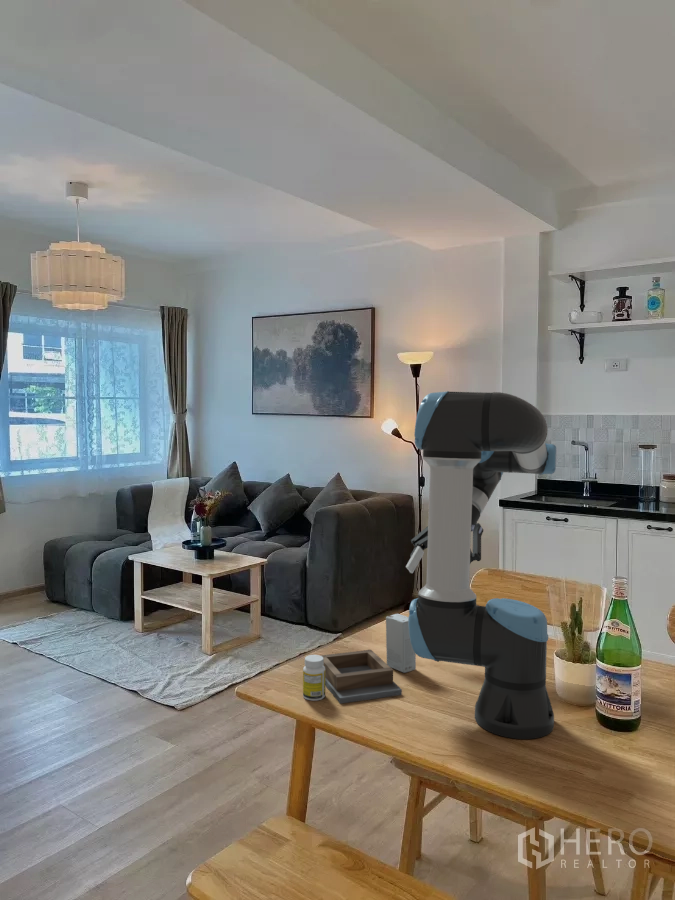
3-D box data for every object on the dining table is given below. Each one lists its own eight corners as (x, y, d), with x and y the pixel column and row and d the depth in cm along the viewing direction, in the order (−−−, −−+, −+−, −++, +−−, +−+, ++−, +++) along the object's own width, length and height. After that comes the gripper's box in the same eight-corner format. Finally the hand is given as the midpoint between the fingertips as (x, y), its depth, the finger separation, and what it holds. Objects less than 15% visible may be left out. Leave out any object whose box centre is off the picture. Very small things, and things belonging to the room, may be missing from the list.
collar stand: (401, 694, 149) (402, 675, 149) (339, 703, 145) (340, 683, 144) (367, 661, 168) (367, 644, 168) (311, 668, 163) (311, 650, 163)
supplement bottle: (312, 690, 151) (312, 652, 151) (329, 695, 149) (330, 657, 148) (298, 697, 147) (298, 658, 147) (316, 703, 145) (316, 663, 144)
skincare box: (416, 669, 163) (417, 618, 163) (402, 674, 161) (403, 622, 160) (398, 661, 168) (399, 612, 167) (384, 666, 165) (385, 615, 164)
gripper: (515, 523, 173) (479, 594, 164) (435, 510, 191) (398, 574, 182) (504, 504, 169) (466, 576, 160) (423, 493, 187) (385, 557, 178)
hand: (430, 575), depth 171 cm, fingers open, 13 cm apart
